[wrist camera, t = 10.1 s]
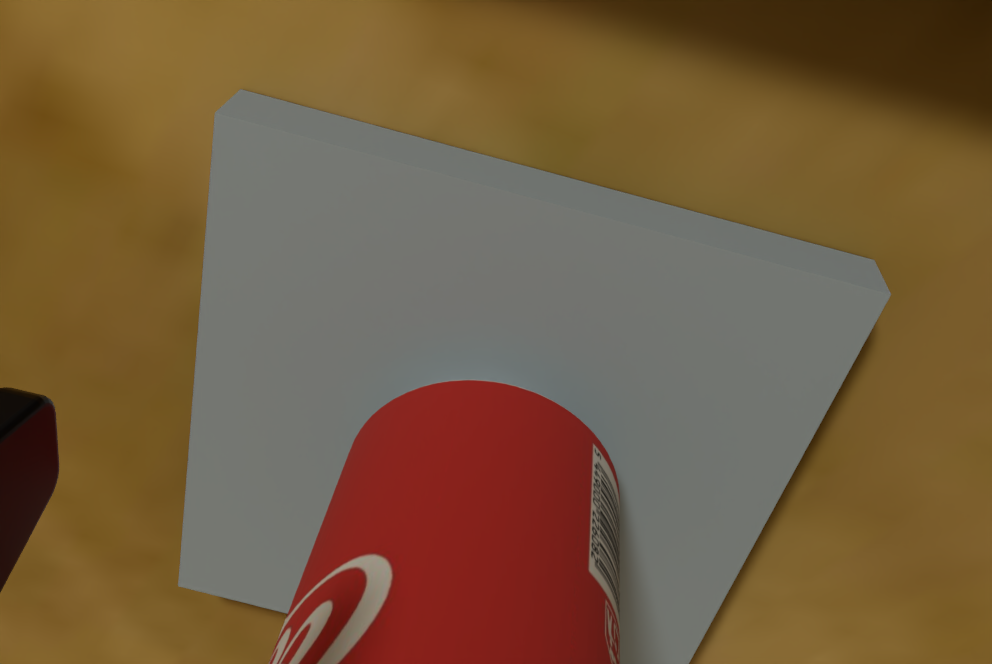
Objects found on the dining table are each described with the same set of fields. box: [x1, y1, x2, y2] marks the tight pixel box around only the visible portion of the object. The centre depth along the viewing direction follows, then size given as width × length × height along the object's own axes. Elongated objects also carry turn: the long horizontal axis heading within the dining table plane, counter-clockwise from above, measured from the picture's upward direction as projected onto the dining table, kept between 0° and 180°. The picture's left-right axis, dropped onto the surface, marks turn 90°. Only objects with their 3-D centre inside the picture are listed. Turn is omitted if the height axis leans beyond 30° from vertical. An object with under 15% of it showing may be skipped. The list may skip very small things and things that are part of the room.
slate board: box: [178, 89, 891, 664], centre depth 23 cm, size 14×14×2 cm
